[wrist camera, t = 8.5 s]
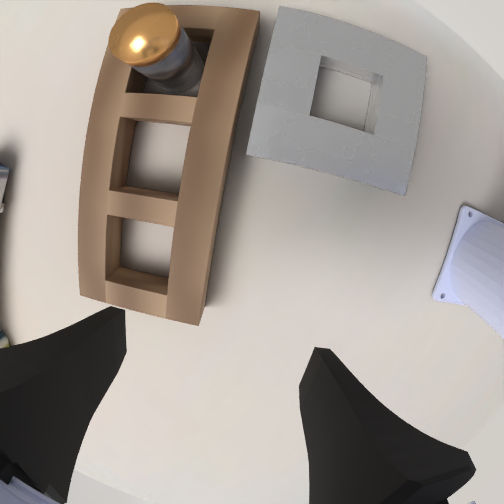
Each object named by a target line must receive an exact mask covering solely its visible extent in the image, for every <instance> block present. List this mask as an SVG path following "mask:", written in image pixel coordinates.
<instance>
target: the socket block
mask: <svg viewBox="0 0 504 504" xmlns="http://www.w3.org/2000/svg"><path fill="white" fill-rule="evenodd" d="M426 62H427V57H426V56H424V55H422V54H420V53H418V52H416V51H414V50H412V49H410V48H408V47H406V46H404V45H401V44H399V43H397V42H395V41H393V40H390V39H388V38H385V37H383V36H381V35H378V34H376V33H373V32H370V31H368V30H365V29H362V28H360V27H357V26H354V25H351V24H348V23H345V22H342V21H339V20H335V19H332V18H329V17H325V16H321V15H318V14H314V13H310V12H306V11H302V10H297V9H292V8H288V7H283V6H279V9H278V13H277V18H276V22H275V26H274V30H273V34H272V38H271V43H270V47H269V51H268V55H267V60H266V64H265V68H264V73H263V77H262V82H261V86H260V91H259V95H258V100H257V104H256V109H255V114H254V118H253V123H252V128H251V132H250V137H249V142H248V147H247V152H246V155H250V156H255V157H260V158H265V159H270V160H274V161H279V162H284V163H288V164H292V165H297V166H301V167H305V168H309V169H313V170H317V171H321V172H325V173H329V174H333V175H336V176H340V177H344V178H347V179H351V180H354V181H358V182H361V183H365V184H368V185H371V186H375V187H378V188H381V189H384V190H387V191H390V192H394V193H397V194H400V195H403V196H405V194H406V190H407V186H408V182H409V177H410V173H411V168H412V163H413V158H414V153H415V148H416V143H417V137H418V131H419V125H420V118H421V111H422V104H423V95H424V86H425V75H426ZM319 66H321V67H324V68H328V69H331V70H334V71H338V72H341V73H344V74H347V75H350V76H353V77H356V78H359V79H362V80H365V81H367V82H370V83H372V86H371V92H370V98H369V104H368V110H367V116H366V121H365V126H364V131H361V130H358V129H355V128H351V127H348V126H345V125H342V124H338V123H335V122H332V121H328V120H325V119H321V118H317V117H313V116H310V110H311V105H312V100H313V95H314V90H315V85H316V80H317V75H318V70H319Z"/></svg>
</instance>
